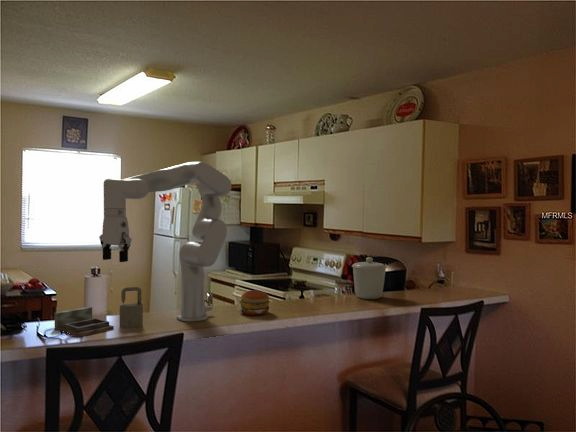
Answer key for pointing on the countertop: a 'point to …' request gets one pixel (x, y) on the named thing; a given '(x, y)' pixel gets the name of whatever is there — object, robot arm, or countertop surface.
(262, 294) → the burger
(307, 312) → the countertop surface
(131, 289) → the padlock
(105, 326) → the open hinged box
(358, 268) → the canister
